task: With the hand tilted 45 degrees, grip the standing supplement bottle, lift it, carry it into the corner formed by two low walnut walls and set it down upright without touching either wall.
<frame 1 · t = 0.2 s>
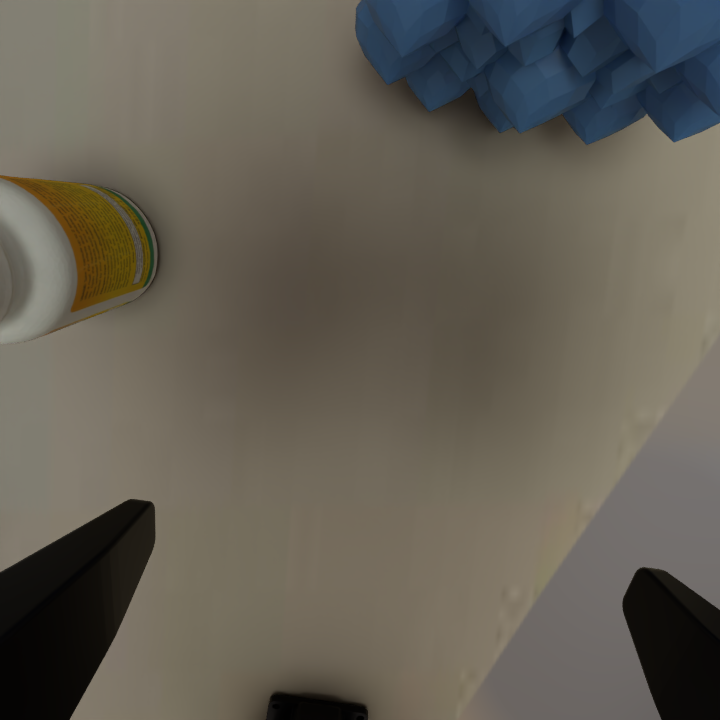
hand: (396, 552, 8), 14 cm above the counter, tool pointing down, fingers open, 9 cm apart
supplement bottle: (106, 246, 21), on the counter
blue knobby flower: (502, 68, 18), on the counter
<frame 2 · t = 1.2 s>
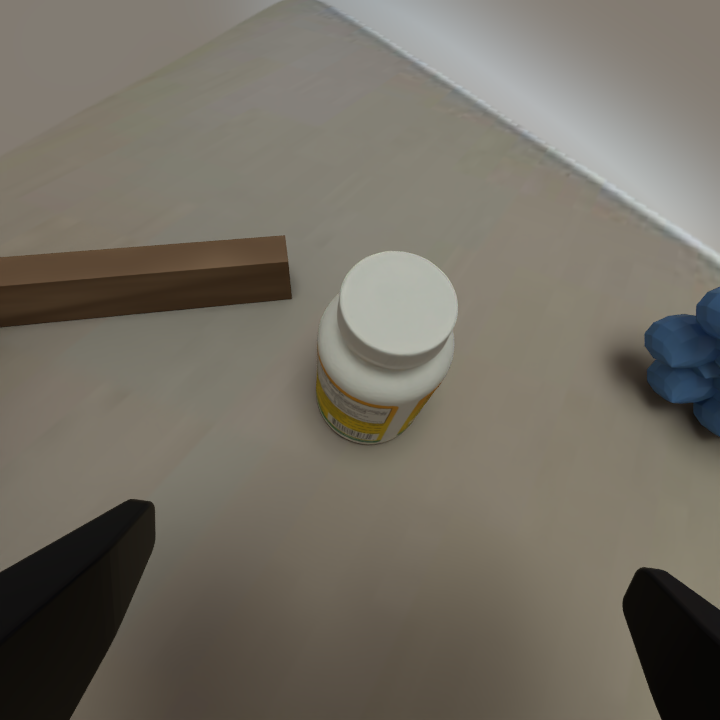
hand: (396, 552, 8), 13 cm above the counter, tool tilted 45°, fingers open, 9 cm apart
walnut corner walls: (182, 390, 23), on the counter
supplement bottle: (367, 396, 24), on the counter
blue knobby flower: (704, 404, 25), on the counter
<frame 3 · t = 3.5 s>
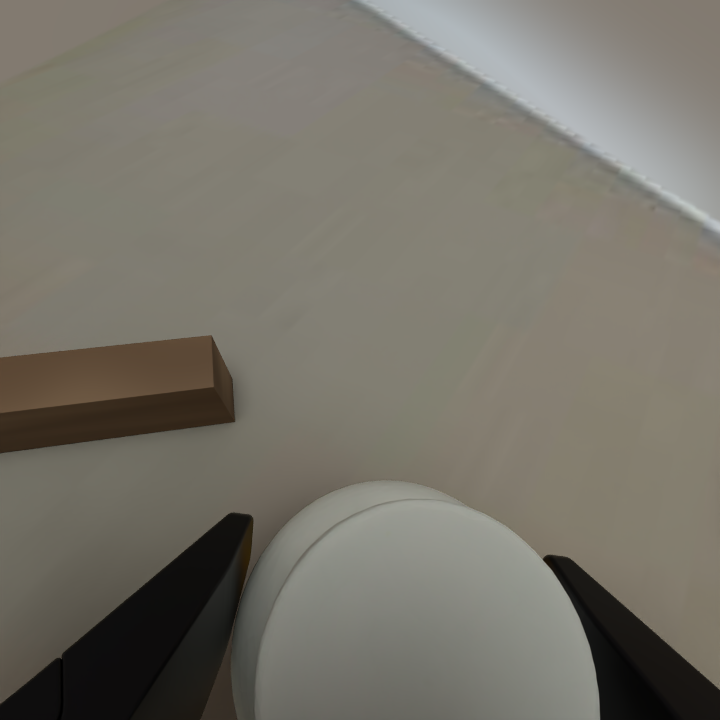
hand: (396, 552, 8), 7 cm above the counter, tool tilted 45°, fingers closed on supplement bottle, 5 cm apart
walnut corner walls: (31, 607, 13), on the counter
supplement bottle: (357, 603, 14), on the counter, touching gripper
when the fingers open (8 cm above the counter, at t = 7.4 s): supplement bottle drops 1 cm, on the counter.
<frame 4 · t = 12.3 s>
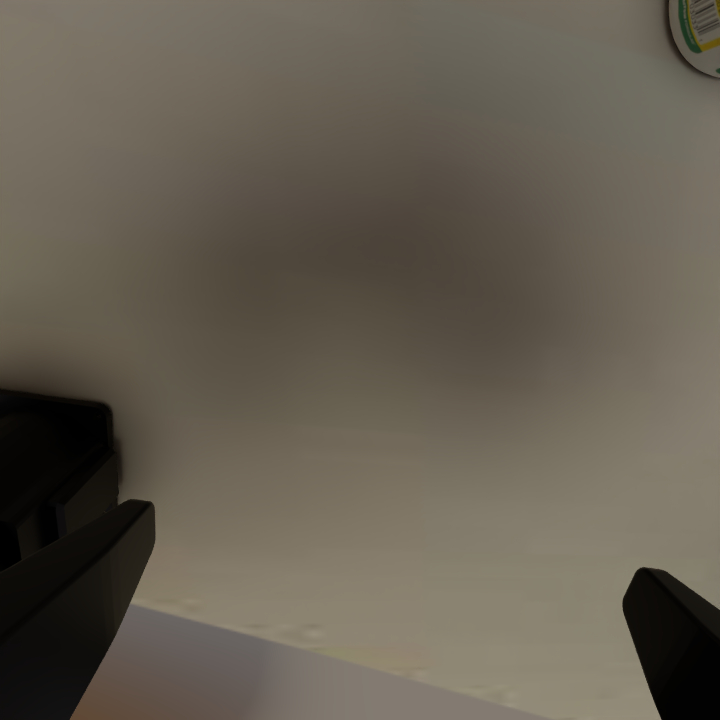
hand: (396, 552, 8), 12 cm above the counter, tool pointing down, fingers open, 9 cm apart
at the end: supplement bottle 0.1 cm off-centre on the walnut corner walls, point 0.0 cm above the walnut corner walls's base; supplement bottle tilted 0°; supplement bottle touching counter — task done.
